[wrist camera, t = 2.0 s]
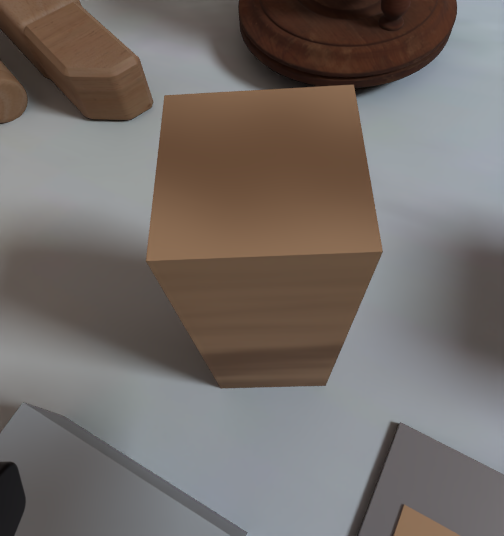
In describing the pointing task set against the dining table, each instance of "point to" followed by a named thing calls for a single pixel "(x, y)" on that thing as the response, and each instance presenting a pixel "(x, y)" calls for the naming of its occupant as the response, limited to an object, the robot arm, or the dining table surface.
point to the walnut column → (264, 229)
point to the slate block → (94, 485)
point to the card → (433, 492)
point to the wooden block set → (72, 60)
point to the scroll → (346, 38)
